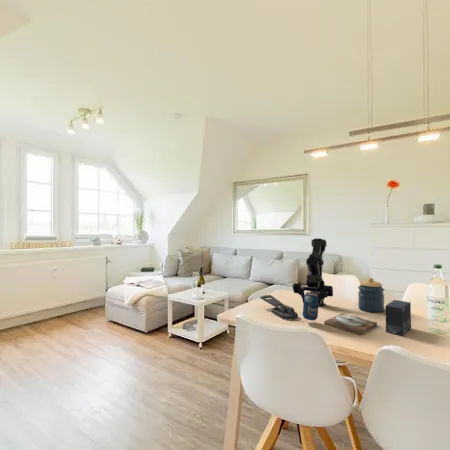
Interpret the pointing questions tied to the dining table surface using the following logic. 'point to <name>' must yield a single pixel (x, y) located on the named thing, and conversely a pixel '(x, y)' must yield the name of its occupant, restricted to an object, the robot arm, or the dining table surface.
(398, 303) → the small box
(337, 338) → the dining table surface
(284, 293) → the dining table surface
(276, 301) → the zipper pull
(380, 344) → the dining table surface
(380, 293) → the canister
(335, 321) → the rosette board
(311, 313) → the soda can
